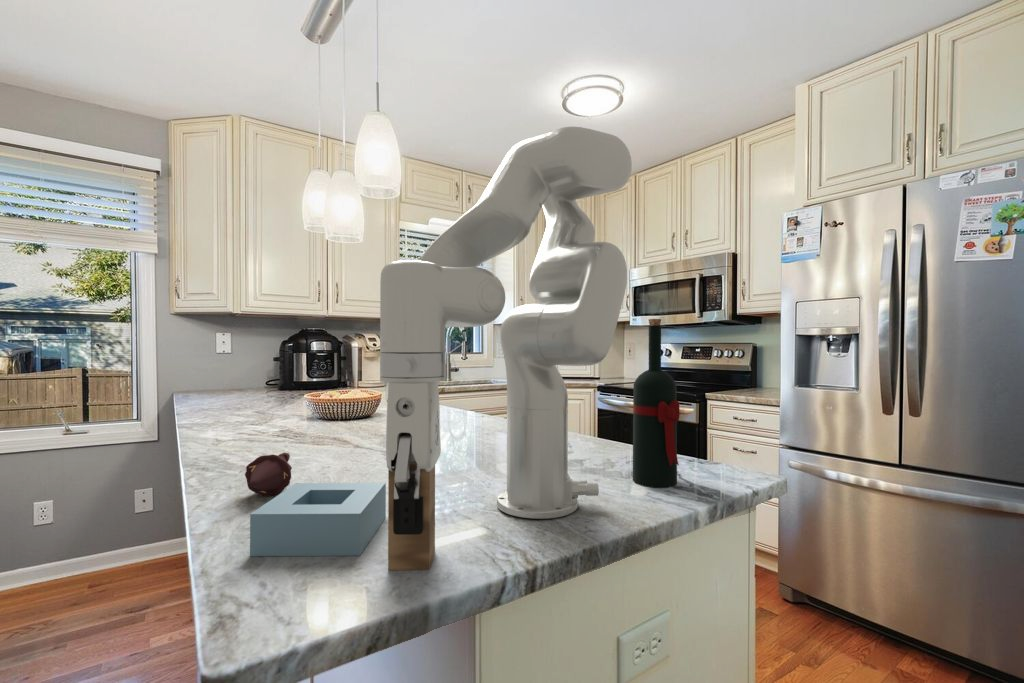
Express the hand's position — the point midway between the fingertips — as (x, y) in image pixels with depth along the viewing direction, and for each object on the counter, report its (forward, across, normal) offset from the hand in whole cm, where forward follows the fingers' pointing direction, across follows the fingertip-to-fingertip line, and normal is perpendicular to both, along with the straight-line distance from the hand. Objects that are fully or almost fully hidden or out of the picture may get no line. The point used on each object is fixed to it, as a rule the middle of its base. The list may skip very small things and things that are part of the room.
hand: (412, 522), depth 57 cm
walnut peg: (+4, 0, 0) cm, 4 cm away
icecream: (+5, +26, +28) cm, 39 cm away
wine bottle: (+5, +31, -39) cm, 50 cm away
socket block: (+4, +8, +13) cm, 16 cm away
